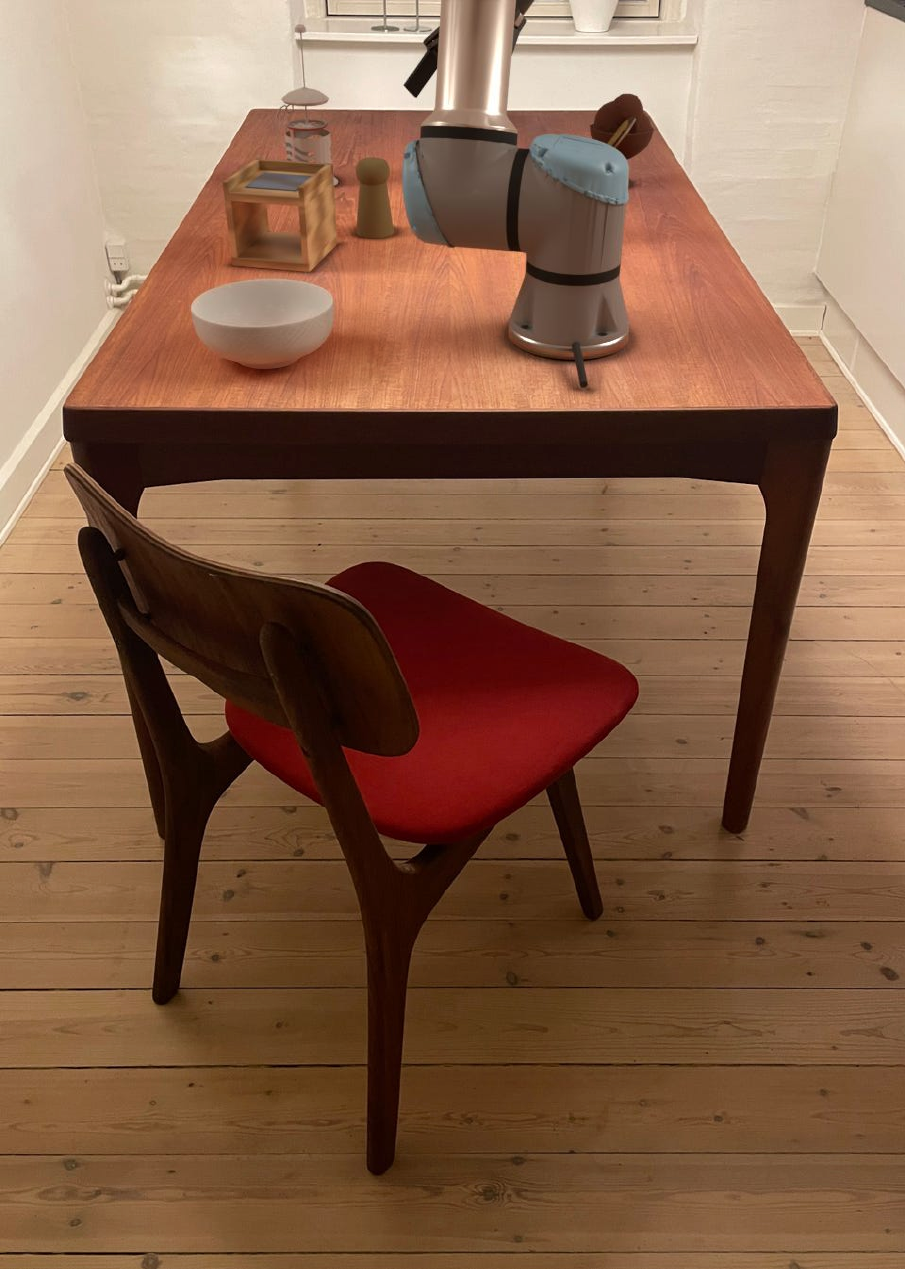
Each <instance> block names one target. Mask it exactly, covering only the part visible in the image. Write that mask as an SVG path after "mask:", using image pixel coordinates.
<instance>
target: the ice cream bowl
mask: <svg viewBox="0 0 905 1269" xmlns="http://www.w3.org/2000/svg"><path fill="white" fill-rule="evenodd" d="M633 116H635V119H636V120H635V122H634V124H633V126H632V127H631V129H630V130H629V132H628V133H627V134H626V136H625V137H624V138H623V139H622V141H621V142H620V143H619V145H618V146H617V147H616V148H615V149H617V150H618V151H620V152H621V153H622V154H623V155H624V157H625V158H626V160H627V161H628V160H630V159H632V158H634V157H636V156H637V155H639V154H640V153H642V151H643V150H644V149H646V148H647V147H648V146H649V144H650V142H651V140H652V139H653V134H654V131H655V129H654V128H653V126H652V124H651V121H650V118H649V117H648V116H647V115H646V114H645V113H644V106H643V103H642V101H641V99H640V98H639V96H638V95H635V94H633V93H621V94H620V95H619V96H617V97H615V98H614V99H613V100H611V101H609V102H606V103H604V104H603V105H601V107H599V109H598V110H597V112H596V114H595V115H594V120H593V123H592V124H590V125H589V131H590V137H591V139H594V140H597V141H600V142H603V143H606V144H607V143H608V142H609V141H610V139H611V138H612V136H613V135H614V134H615V132H616V131H617V130H618V129H619V127H620V126H621V125H622V124H623V123H624V122H625V121H626V120H627V119H629V118H631V117H633ZM632 186H633V182H632V180H631V179H630V178H629V177H628V188H630V187H632Z"/></svg>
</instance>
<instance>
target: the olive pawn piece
mask: <svg viewBox="0 0 905 1269" xmlns="http://www.w3.org/2000/svg"><path fill="white" fill-rule="evenodd" d="M390 174H391V169H390V164H389V163H388V161H387V160H386V159H384V158H381V157H374V156H373V157H364V158H362V159H360V160H358V162H357V164H356V166H355V176H356V178H357V180H358V181H359V187H358V188H359V189H358V190H359V191H358V202H357V215H356V227H355V234H356V236H359V237H361V238H365V239H384V238H389V237H391V236H392V235H394V234H395V228H394V221H393V215H392V208H391V201H390V195H389V190H388V182H387V181H388V180H389V178H390Z"/></svg>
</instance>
